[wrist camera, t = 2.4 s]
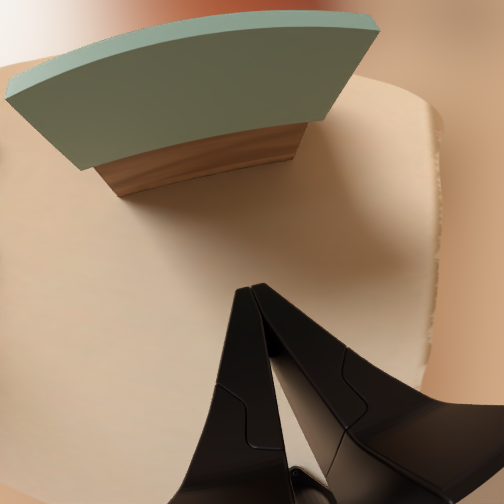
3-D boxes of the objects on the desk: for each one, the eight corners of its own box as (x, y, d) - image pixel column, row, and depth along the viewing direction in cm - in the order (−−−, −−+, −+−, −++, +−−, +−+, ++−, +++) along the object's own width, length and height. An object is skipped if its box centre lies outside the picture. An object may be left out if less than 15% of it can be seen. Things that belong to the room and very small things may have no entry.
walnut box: (292, 159, 25) (314, 108, 18) (118, 197, 23) (84, 156, 16) (266, 85, 26) (277, 29, 19) (112, 116, 24) (87, 66, 17)
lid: (317, 106, 18) (323, 120, 18) (80, 155, 16) (81, 170, 16) (370, 14, 10) (380, 30, 9) (8, 79, 8) (4, 99, 8)
